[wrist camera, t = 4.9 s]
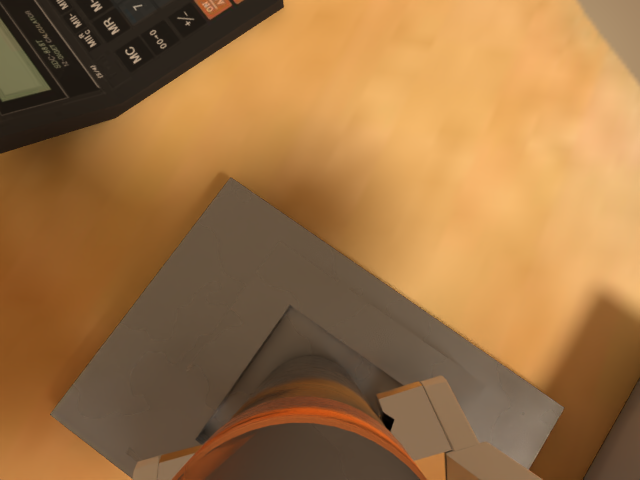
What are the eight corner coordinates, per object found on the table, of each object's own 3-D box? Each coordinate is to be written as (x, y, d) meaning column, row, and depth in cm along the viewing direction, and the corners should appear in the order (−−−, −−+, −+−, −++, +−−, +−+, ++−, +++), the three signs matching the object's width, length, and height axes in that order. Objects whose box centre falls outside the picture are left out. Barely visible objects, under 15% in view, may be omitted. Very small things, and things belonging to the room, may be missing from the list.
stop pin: (231, 425, 16) (48, 652, 5) (296, 332, 16) (261, 352, 5) (322, 494, 15) (342, 899, 5) (385, 396, 16) (536, 552, 5)
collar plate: (59, 411, 16) (28, 422, 15) (233, 182, 18) (224, 166, 16) (398, 674, 15) (409, 720, 13) (555, 404, 17) (584, 414, 15)
